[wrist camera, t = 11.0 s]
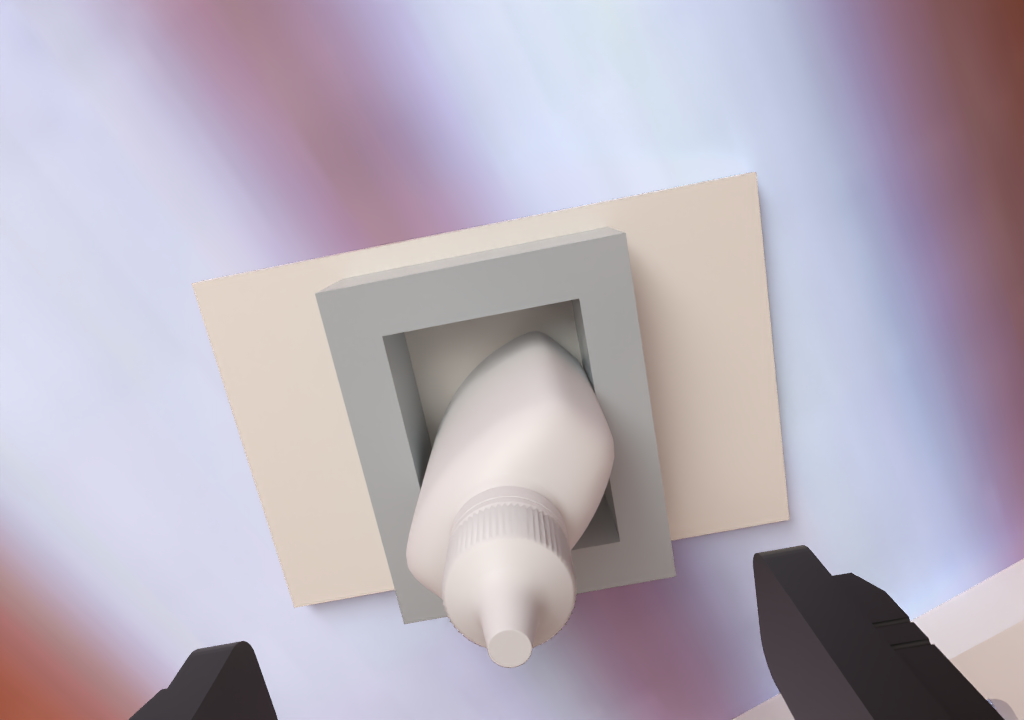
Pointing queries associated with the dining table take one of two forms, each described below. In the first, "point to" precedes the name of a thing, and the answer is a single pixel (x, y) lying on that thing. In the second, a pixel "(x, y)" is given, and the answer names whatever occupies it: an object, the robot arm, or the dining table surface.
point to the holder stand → (477, 334)
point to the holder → (968, 643)
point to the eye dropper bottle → (511, 496)
